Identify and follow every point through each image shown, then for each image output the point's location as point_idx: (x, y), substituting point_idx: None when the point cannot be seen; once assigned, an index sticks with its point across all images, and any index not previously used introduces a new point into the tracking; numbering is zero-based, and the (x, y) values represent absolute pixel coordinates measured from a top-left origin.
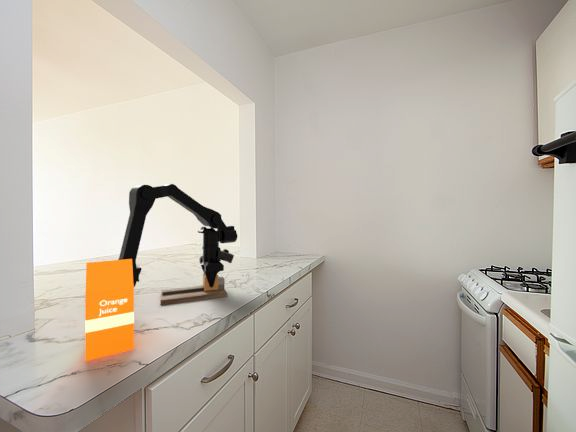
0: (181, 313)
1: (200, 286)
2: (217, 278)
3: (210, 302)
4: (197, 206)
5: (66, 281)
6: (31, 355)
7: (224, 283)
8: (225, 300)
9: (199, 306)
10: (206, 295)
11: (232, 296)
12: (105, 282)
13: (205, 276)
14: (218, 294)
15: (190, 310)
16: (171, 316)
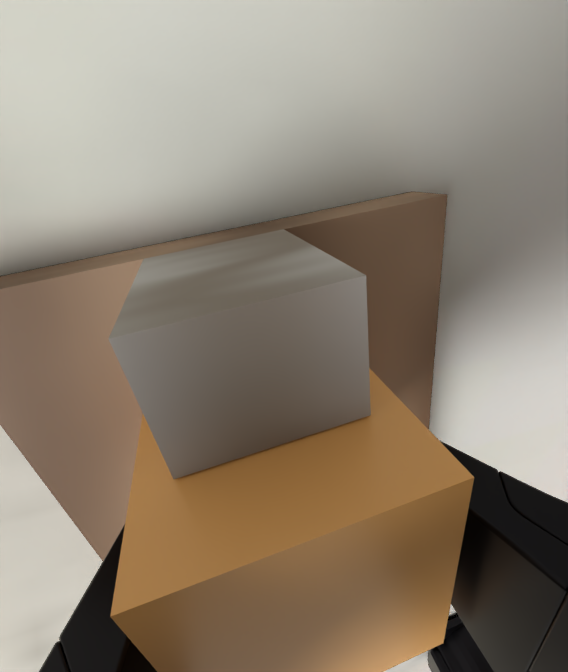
0: (559, 457)
1: (109, 533)
2: (420, 439)
3: (493, 343)
4: None
5: None
6: None
7: (314, 247)
8: (517, 213)
9: (523, 400)
10: (426, 406)
11: (440, 112)
12: None
13: (415, 648)
14: (431, 299)
15: (550, 430)
16: (564, 482)
